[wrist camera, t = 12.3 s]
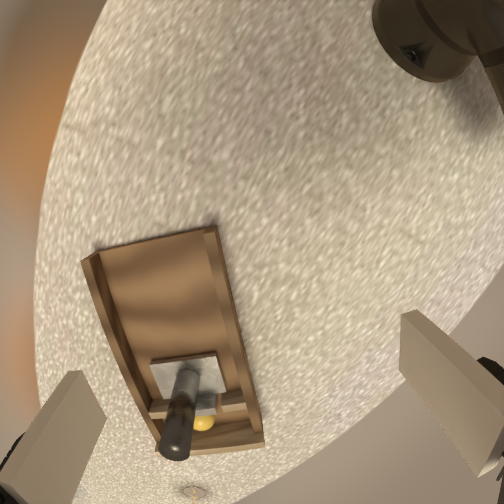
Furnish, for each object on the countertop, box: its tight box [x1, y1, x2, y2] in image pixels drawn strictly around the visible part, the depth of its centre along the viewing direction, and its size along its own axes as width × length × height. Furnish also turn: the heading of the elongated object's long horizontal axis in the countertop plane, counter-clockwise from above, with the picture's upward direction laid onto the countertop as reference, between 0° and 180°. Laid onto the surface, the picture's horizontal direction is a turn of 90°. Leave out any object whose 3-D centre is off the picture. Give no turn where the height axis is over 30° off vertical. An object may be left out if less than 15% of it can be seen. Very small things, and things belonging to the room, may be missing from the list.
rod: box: [149, 352, 227, 461], centre depth 33 cm, size 7×9×14 cm
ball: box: [193, 415, 215, 431], centre depth 40 cm, size 4×4×4 cm
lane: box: [81, 225, 265, 457], centre depth 38 cm, size 30×16×6 cm, turn 11°
